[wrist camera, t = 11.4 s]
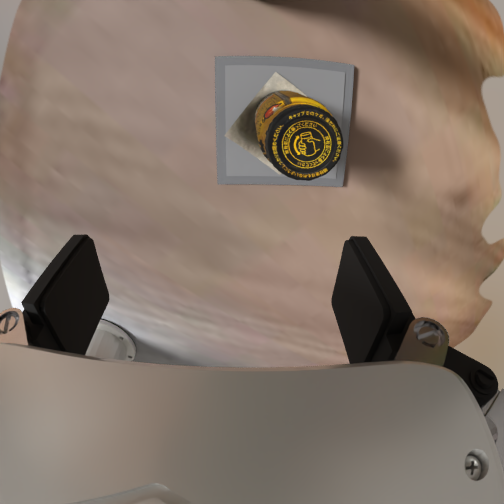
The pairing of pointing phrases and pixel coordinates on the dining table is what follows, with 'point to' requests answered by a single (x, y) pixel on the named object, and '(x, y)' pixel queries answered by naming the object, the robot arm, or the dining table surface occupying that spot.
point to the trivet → (246, 88)
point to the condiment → (289, 131)
